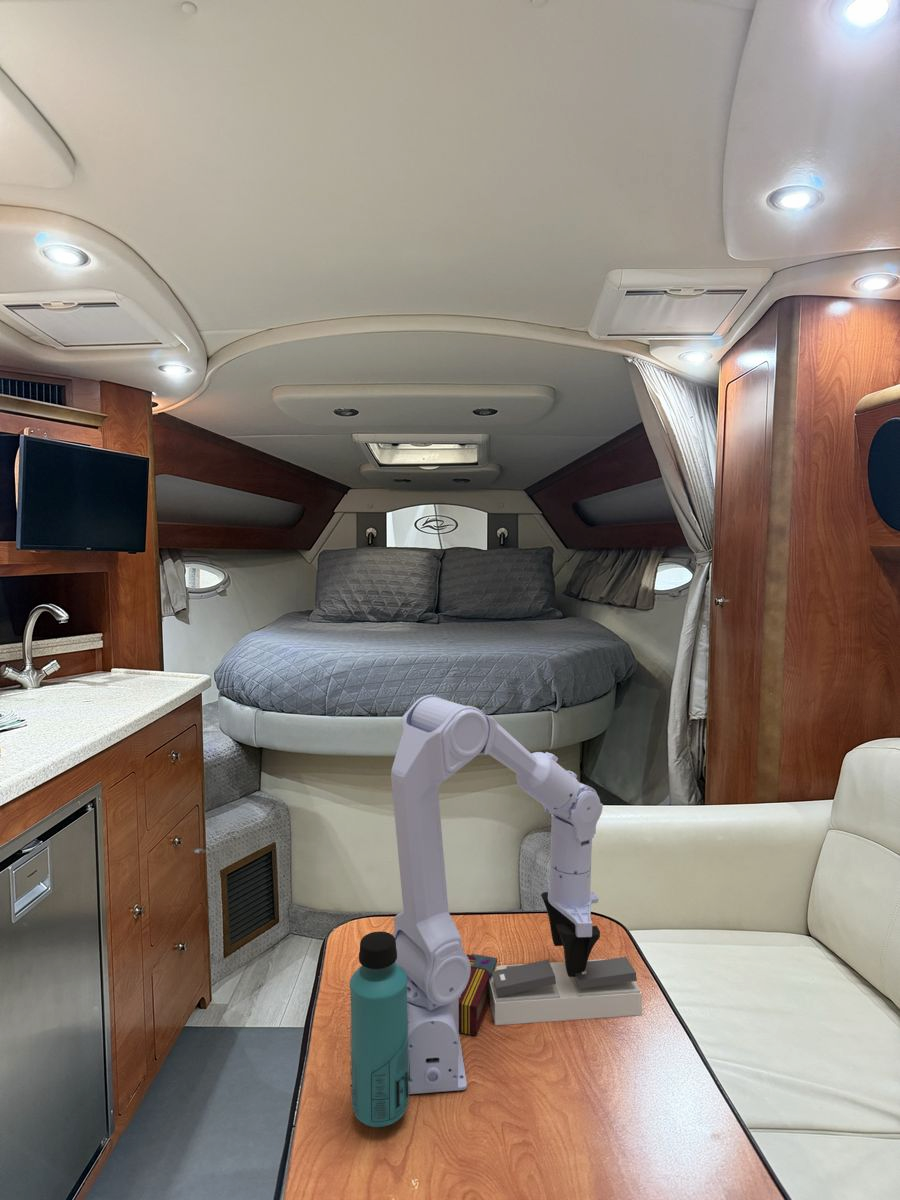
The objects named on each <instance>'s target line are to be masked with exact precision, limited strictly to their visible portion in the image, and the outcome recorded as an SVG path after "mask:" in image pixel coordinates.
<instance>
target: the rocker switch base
mask: <svg viewBox="0 0 900 1200" xmlns="http://www.w3.org/2000/svg"><path fill="white" fill-rule="evenodd" d="M606 959H607V958H605V959H604V958H602V959H601V958H600V960H606ZM598 960H599V959H590V960H589V959H588V961H587V962H591V961H598ZM549 963H550V965H551V967H552V970H553V972H554V974H555V980H556V984H553V985H549V986H544V987H540V988H535V989H531V990H526V991H522V992H517V993H513V994H508V995H504V996H499V997H498V996H497V993H496V989H495V985H494V981H493V976H492V977H491V978H489V980H488V993H489V999H490V1002H489V1007H490V1010H491V1014H492V1017H493V1018H492V1019H493V1022H494V1023H493V1024H494V1026H503V1025H519V1024H532V1023H546V1022H561V1021H563V1022H565V1021H574V1020H576V1021H577V1020H588V1019H589V1020H591V1019H603V1018H617V1017H619V1018H620V1017H630V1016H642V1012H643V1011H642V1009H643V1007H642V1006H643V1005H642V1004H643V999H642V998H643V994H642V993H643V992H642V991H641V989H640V988H639V986H638V985H637V983H636V981H633V982H626V983H619V984H611V985H604V986H597V987H590V988H583V989H579V988H578V986H577V984H576V981H575V979H574V977H569V976H568V974H567V971H566V966H565V961H556V962H549ZM520 965H524V963H521V964H507V965H505V964H504V965H496V967H495V969H494V971H497V970H501V969H506V968H511V967H515V966H520Z"/></svg>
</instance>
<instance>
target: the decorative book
mask: <svg viewBox="0 0 900 1200" xmlns="http://www.w3.org/2000/svg"><path fill="white" fill-rule="evenodd" d="M465 954H466V953H465ZM466 955H467V957H468V958H469V961H470V965H471V973H470V978H469V981H468V984H467V986H466V988H465V989H464V991H463V992H462V994H461V997H460V998H459V1034H465V1035H471V1036H474V1037H477V1036H478V1033H479V1030H480V1028H481V1025H482V1022H483V1020H484V1017H485V1015H486V1012H487V1009H488V1006H489V1005H490V999H489V993H488V980H489V978H491V977H492V971H494V969H495V967H496V966H497V965H498V957H493V956H488V955H482V954H477V953H476V954H475V953H471V954H466Z"/></svg>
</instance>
